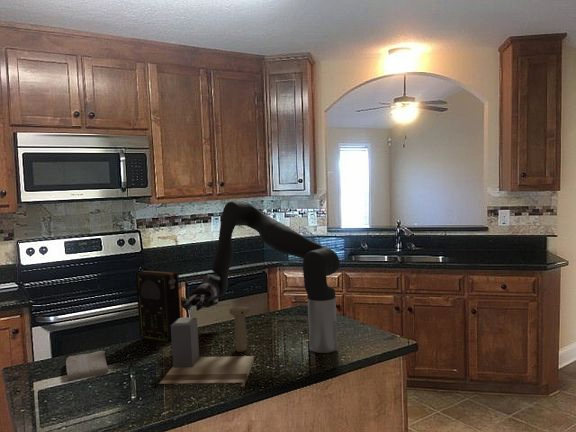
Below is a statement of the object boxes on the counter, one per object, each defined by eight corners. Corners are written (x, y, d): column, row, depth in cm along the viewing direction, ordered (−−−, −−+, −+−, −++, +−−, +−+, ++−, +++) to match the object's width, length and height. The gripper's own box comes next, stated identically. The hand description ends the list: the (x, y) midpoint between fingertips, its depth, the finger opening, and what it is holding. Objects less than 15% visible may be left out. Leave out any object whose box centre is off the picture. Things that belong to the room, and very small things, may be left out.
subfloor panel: (254, 359, 155) (253, 356, 155) (244, 386, 135) (243, 382, 135) (180, 361, 157) (179, 357, 157) (159, 387, 137) (159, 383, 137)
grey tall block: (199, 357, 156) (196, 316, 155) (192, 367, 148) (190, 323, 147) (180, 357, 156) (178, 316, 155) (173, 367, 148) (170, 324, 147)
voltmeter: (137, 339, 181) (132, 272, 179) (154, 332, 188) (150, 268, 186) (168, 345, 173) (163, 275, 171) (185, 337, 180) (180, 270, 179)
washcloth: (104, 356, 166) (103, 347, 165) (109, 374, 150) (109, 364, 149) (66, 363, 161) (65, 354, 160) (67, 383, 144) (66, 372, 144)
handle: (253, 353, 161) (251, 308, 160) (235, 357, 158) (233, 311, 157) (247, 349, 165) (245, 305, 164) (229, 353, 162) (227, 308, 161)
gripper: (185, 285, 178) (170, 297, 161) (223, 284, 177) (212, 295, 160) (186, 305, 178) (171, 319, 161) (224, 304, 177) (213, 318, 160)
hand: (192, 307), depth 160 cm, fingers open, 3 cm apart
